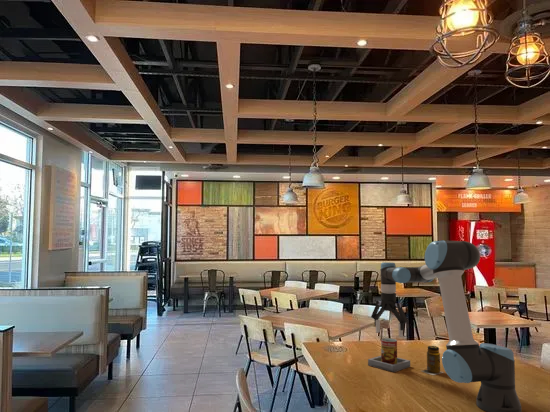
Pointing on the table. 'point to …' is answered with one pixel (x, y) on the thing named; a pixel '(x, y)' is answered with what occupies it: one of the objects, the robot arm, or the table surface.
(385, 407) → the table surface
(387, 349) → the canned food
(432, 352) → the condiment
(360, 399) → the table surface
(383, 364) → the holder
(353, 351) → the table surface
